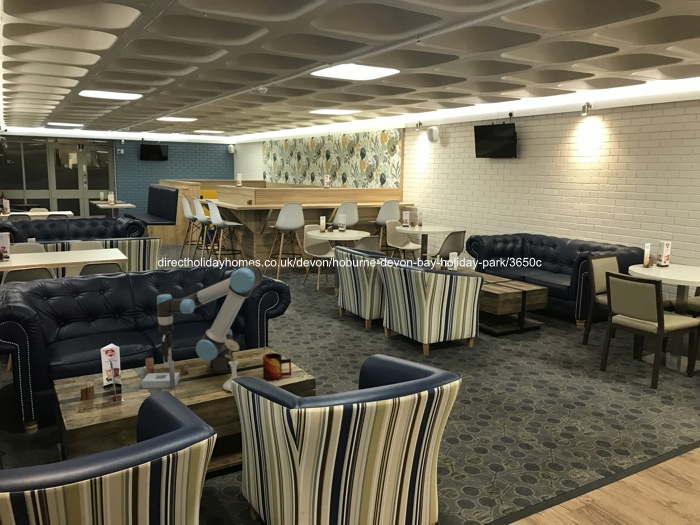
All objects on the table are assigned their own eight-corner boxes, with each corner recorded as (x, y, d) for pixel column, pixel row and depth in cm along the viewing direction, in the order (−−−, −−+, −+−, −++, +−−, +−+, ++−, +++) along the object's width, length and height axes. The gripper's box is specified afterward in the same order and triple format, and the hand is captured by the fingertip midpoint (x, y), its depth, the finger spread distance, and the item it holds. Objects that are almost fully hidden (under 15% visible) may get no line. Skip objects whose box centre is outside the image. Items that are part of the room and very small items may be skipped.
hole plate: (181, 378, 293) (180, 353, 291) (174, 389, 278) (173, 362, 276) (148, 379, 291) (147, 353, 289) (140, 390, 277) (138, 362, 275)
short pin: (189, 373, 302) (188, 364, 301) (187, 375, 298) (187, 366, 297) (181, 373, 301) (181, 364, 301) (179, 375, 297) (179, 366, 297)
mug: (292, 377, 295) (291, 355, 293) (267, 382, 288) (267, 359, 286) (284, 372, 303) (283, 351, 302) (260, 376, 296) (260, 355, 294)
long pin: (173, 371, 302) (171, 346, 300) (171, 374, 298) (169, 349, 296) (165, 372, 302) (164, 347, 300) (163, 374, 298) (162, 349, 296)
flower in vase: (250, 389, 278) (249, 340, 275) (231, 394, 271) (229, 345, 267) (236, 382, 288) (234, 335, 284) (216, 388, 280) (215, 339, 276)
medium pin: (155, 373, 300) (154, 357, 299) (153, 376, 296) (152, 360, 295) (147, 374, 300) (146, 358, 299) (145, 376, 296) (144, 360, 295)
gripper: (162, 319, 304) (164, 361, 307) (154, 327, 287) (156, 371, 290) (176, 319, 305) (178, 360, 308) (169, 327, 288) (171, 370, 291)
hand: (168, 365), depth 299 cm, fingers closed on long pin, 4 cm apart
